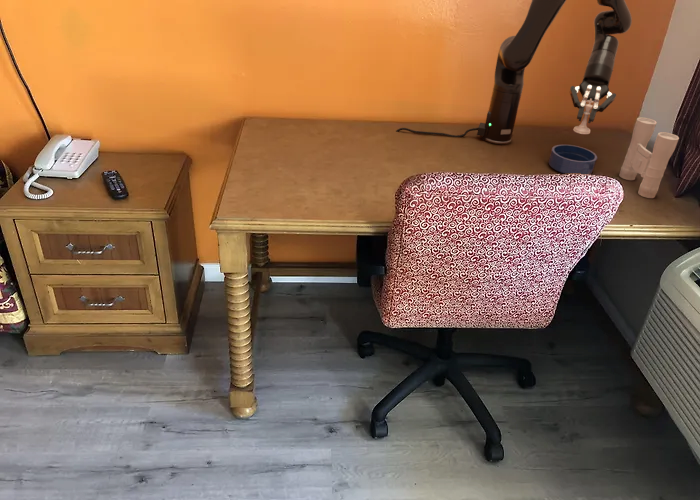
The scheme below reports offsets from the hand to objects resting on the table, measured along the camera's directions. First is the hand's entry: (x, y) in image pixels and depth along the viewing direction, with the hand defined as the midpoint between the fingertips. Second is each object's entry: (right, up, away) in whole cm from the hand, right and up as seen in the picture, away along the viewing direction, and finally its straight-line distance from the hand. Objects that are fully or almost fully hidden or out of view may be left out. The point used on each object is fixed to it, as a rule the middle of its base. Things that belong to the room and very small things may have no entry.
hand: (584, 120), depth 178 cm
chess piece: (0, -2, +4) cm, 5 cm away
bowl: (-1, -13, +10) cm, 16 cm away
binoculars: (+16, -19, +2) cm, 25 cm away
